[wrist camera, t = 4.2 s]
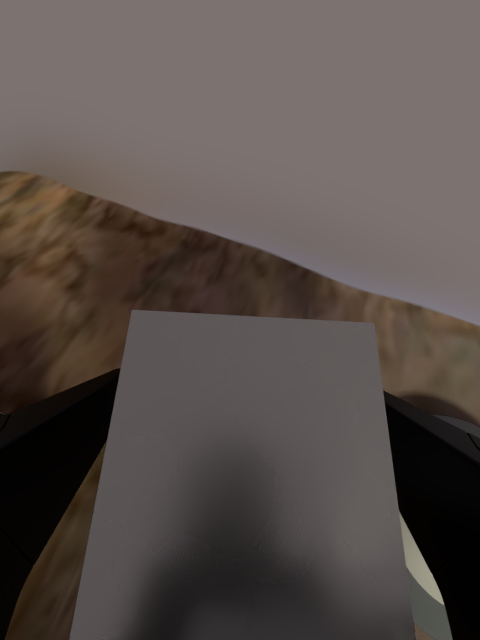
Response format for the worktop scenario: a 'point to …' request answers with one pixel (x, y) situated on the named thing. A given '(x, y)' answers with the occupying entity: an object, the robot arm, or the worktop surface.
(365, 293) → the worktop surface
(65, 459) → the robot arm
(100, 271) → the worktop surface
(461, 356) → the worktop surface
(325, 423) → the block
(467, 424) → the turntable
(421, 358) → the worktop surface
